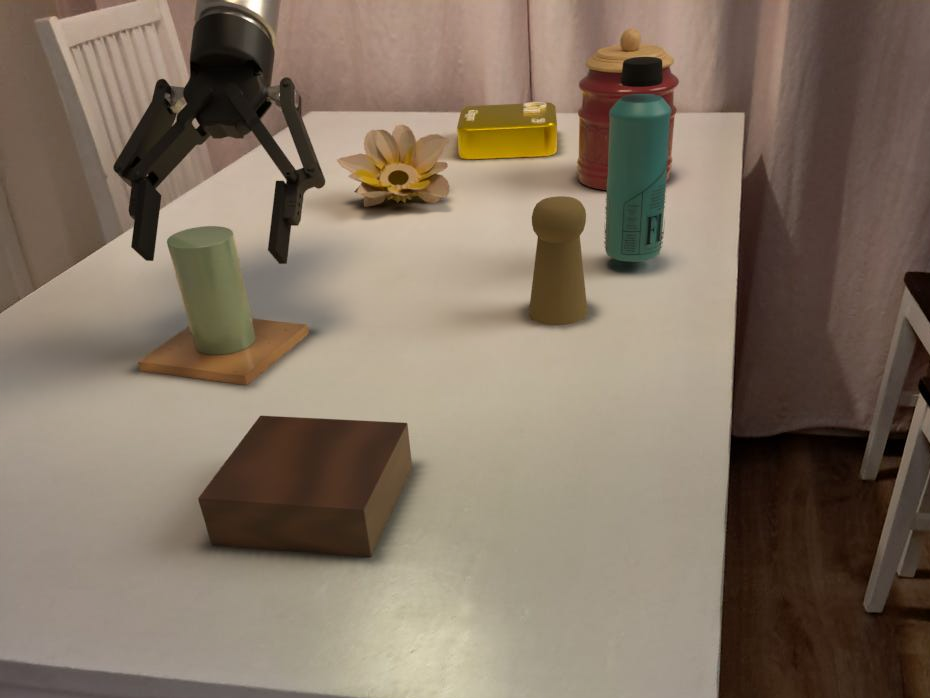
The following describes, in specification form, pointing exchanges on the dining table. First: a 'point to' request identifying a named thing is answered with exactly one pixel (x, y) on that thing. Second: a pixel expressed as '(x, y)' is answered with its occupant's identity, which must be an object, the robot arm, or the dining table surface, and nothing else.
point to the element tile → (507, 131)
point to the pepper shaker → (558, 262)
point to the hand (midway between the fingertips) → (208, 256)
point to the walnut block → (309, 485)
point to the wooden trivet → (227, 368)
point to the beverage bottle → (637, 165)
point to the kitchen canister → (604, 93)
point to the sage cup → (212, 289)
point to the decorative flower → (399, 167)
